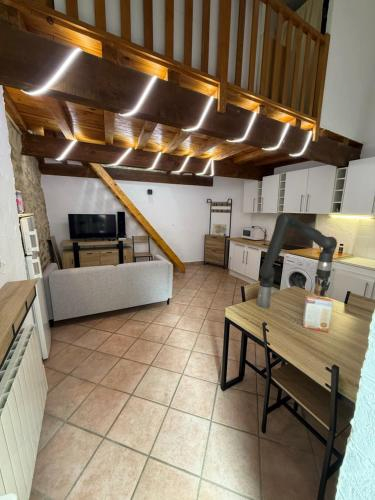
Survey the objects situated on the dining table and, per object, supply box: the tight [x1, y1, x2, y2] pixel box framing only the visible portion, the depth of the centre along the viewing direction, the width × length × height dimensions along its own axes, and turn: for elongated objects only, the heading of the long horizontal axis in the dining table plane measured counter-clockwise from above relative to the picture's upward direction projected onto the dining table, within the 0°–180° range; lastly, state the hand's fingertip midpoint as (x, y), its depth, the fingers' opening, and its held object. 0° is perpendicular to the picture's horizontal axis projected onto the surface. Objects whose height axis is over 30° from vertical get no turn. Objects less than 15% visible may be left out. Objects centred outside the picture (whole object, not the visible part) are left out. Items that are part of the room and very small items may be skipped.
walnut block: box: [313, 282, 328, 298], centre depth 129 cm, size 5×5×7 cm
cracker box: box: [302, 295, 334, 333], centre depth 131 cm, size 14×6×21 cm, turn 68°
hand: (319, 293), depth 129 cm, fingers closed on walnut block, 5 cm apart
